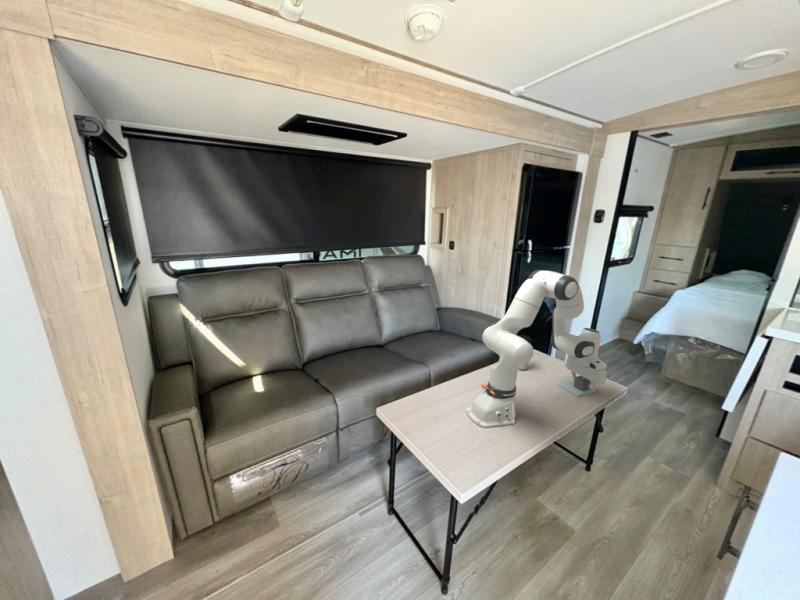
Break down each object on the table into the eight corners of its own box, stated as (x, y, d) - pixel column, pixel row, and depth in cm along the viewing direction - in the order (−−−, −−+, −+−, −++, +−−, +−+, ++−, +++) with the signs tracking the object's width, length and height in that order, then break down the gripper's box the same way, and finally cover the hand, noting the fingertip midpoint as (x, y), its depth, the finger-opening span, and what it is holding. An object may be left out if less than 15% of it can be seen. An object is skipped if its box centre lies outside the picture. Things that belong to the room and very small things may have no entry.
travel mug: (525, 365, 188) (529, 334, 183) (528, 371, 181) (532, 339, 176) (514, 365, 188) (518, 334, 183) (517, 370, 182) (521, 338, 177)
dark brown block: (582, 391, 159) (583, 381, 157) (573, 386, 163) (575, 376, 162) (589, 389, 161) (591, 379, 159) (580, 384, 165) (582, 374, 164)
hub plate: (576, 396, 156) (578, 387, 155) (557, 385, 167) (558, 376, 165) (596, 391, 161) (598, 382, 160) (576, 380, 172) (577, 372, 170)
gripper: (564, 352, 166) (561, 375, 170) (601, 369, 148) (596, 395, 151) (573, 350, 168) (569, 373, 172) (610, 366, 150) (605, 392, 153)
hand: (582, 383), depth 161 cm, fingers open, 8 cm apart
